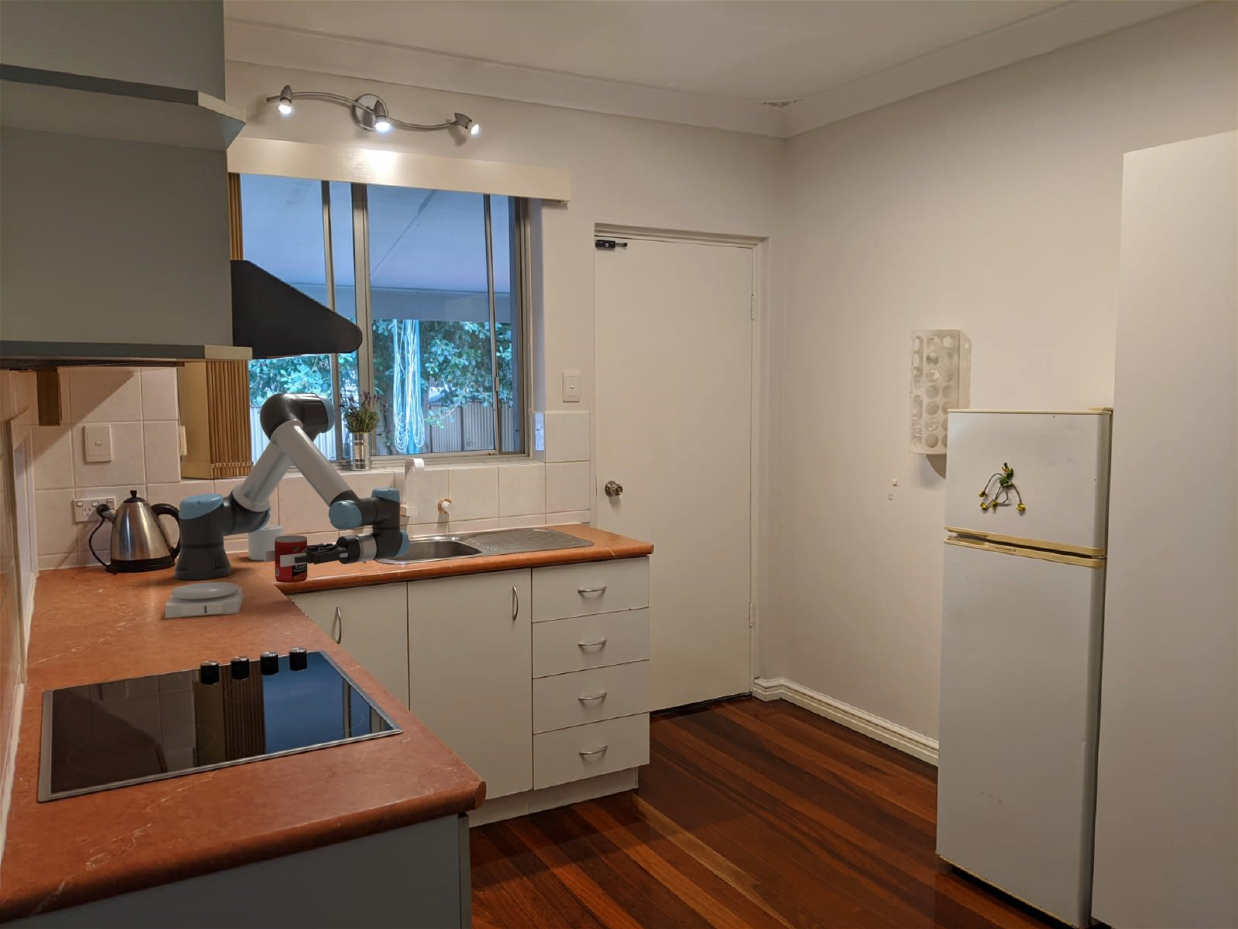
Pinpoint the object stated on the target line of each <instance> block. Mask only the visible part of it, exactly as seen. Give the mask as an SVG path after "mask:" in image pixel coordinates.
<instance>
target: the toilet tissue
mask: <svg viewBox="0 0 1238 929" xmlns="http://www.w3.org/2000/svg"><path fill="white" fill-rule="evenodd" d="M279 536H285V528H284V526H283V525H274V524H273V525H271V524H270V525H265V526H264V527H263V528H262V529H260V530H258V531H254V532H251V533H247V548H248V555H247V556H248V558H249V559H250V561H251V560H252V561H265V551H270V550H275V538H276V537H279Z"/></svg>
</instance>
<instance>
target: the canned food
mask: <svg viewBox="0 0 1238 929" xmlns="http://www.w3.org/2000/svg"><path fill="white" fill-rule="evenodd" d="M307 545H308V536H304V535H299V534H295V535H294V534H292V535H284V536H279V537H276V538H275V561H274V578H275V581H276V582H278V583H283V584H294V583H302V582H305V581H306V580H307V578H308V563H307V562H306V564H300V565H292V566H285V567H280V556H282V555H290V554H298V553H306V556H307Z"/></svg>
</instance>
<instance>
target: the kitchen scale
mask: <svg viewBox="0 0 1238 929" xmlns="http://www.w3.org/2000/svg"><path fill="white" fill-rule="evenodd" d="M170 594H171V596H170V597H169V598H168V600H167V601H166V603H165V605H164V615H165V619H171V618H172V619H173V618H185V617H186V618H187V617H189V618H190V617H202V616H215V615H229V614H239V613H240V610H241V606H242V603H243V599H244V597H243V596H244V595H243V587H239V585H238V584H237V583H233V582H222V581H221V582H218V581H217V582H216V581H215V582H202V583H201V582H200V583H199V582H198V583H192V584H186V585H182V586H177V587H175V588H172V589H171V592H170Z"/></svg>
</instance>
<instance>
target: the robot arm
mask: <svg viewBox="0 0 1238 929" xmlns="http://www.w3.org/2000/svg"><path fill="white" fill-rule="evenodd" d="M335 421H336V413H335V408H334V404H333V403H332V401H331V400H330V398H329V397H328V396H326V394H323V393H319V392H314V391H312V392H311V391H309V392H278V393H275V394H272V395H271V396H269V397H268V398H267V399H266V400H265V401H264V402H263V404H262V406H261V408H260V412H259V422H260V426H261V429H262V431H263V433H264V435H265V436H266V437H267V439H268V440H269V443H268V444H267V446H266V447H265V449H264V450H263V451H262V453H261V455H260V456H259V458H258V459H257V461H256V462H255V464H254V466H253V467H252V468H251V470H250V471H249V473H248V475H247V476H246V478H245V479H244V480H243V483H237V484H236V485H235V486H233V488H232V489H231V491H230V493H229V495H227V496H224V497H223V495H221V493H205V494H197V495H192V496H188V497H186V498H184V499H182V500H181V501H180V503H179V509H178V518H179V519H178V520H179V544H180V545H179V546H180V548H179V549H180V550H179V555H178V556H177V561H176V564H175V566H174V578H175V579H179V580H186V581H189V580H190V581H194V580H198V581H199V580H210V579H218V578H222V577H227V576H229V575H231V574H232V565H231V563H230V560H229V558H228V555H227V552H226V549H225V540H224V539H225V537H228V536H236V535H243V534H248V533H251V532H254V531H258V530H260V529H262V528H263V527H264V526H267V524H268V522H269V521H270V517H271V513H270V512H271V510H272V509H271V508H272V507H271V500H270V497H271V496H272V494H273V493H274V491H275V490H276V488H277V487H278V485H279V484H280V482H281V480H282V479H283V478H284V476H285V475H286V473H287V472H288V470H289V468H290V467H291V466H292V464H293V466H295V467H296V468H297V470H298V471H299V472H300V473H301V475H302V476H303V478H305V480H306V481H307V482H308V483H309V485H310V486H311V487H312V488H313V490H314V491H315V493H317V494H318V495H319V497H320V498H321V500H323V502H324V503H325V504H326V505H327V507H328V508H329V509H328V518H329V522H330V524H331V525H332V527H334V528H335V529H337V530H340V531H341V530H343V531H346V530H355V529H357V528H359V529H360V528H363V527H368V526H371V528H372V530H371V531H372V532H367V533H365V532H363V533H359V534H358V533H357V534H350V535H349V534H348V535H341V536H339V537H337V540H336V542H335V544H333V543H332V542H331V543H330V542H327V543H322V542H321V543H316V544H307V556H306V553H298V554H290V555H282V556H280V567H285V566H292V565H300V564H306V562H307V564H308V565H309V564H310V565H312V564H313V565H319V564H324V563H325V564H326V563H330V562H337V561H338V562H339V563H340V564H342V565H348V564H356V563H363V564H367V561H368V562H369V561H370V562H371V561H376V560H377V561H378V560H384V559H394V558H399V557H403V556H405V555H406V554H407V553H408V552H409V551H410V547H411V542H410V541H411V540H410V539H409V534H408V532H407V531H406V530H404V529H401V495H400V491H399V490H398V489H397V488H394V487H378V488H373V489H372V490H371V495H370V497H364V498H360V497H358V496H359V495H357V494H356V493H355V491H354V490H353V488H351V487H350V485H349V484H348V483H347V482H346V481H345V479H344V478H343V477H342V476H341V475H340V473H339V472H338V471H337V470H336V468H335V467H334V466H333V465H332V463H331V462H330V461H329V460H328V459H327V457H326V456H325V454H323V452H322V451H321V450H320V449H319V447H318V446H317V445H316V444H315V443H314V441H315V440H316V438H317V437H318V435H319V434H325V433H327V432H329V431H331V430H332V428H333V427H334V425H335ZM264 562H265V563H271V562H275V550H270V551H265V560H264Z"/></svg>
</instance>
